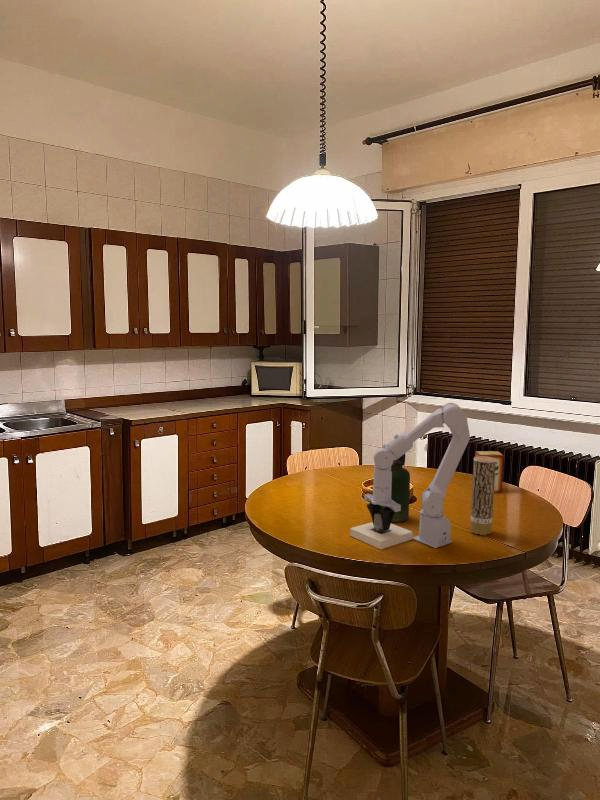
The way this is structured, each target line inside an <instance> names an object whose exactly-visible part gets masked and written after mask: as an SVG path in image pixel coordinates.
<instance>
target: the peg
mask: <svg viewBox="0 0 600 800" xmlns="http://www.w3.org/2000/svg"><path fill="white" fill-rule="evenodd" d="M374 531H375V532H377V533H379V534H383V533H386V531H387V530H383V519H382V514H381V511H377V512H374Z"/></svg>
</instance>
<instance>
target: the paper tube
mask: <svg viewBox="0 0 600 800" xmlns="http://www.w3.org/2000/svg"><path fill="white" fill-rule="evenodd" d="M495 464H496V459H495V458H493V457H488V456H476V457H475V456H474V457H473V467H472V468H473V469H472V486H471V489H472V490H471V506H470V507H471V509H470V526H469V527H470V528H469V529H470V532H471V533H472V532H473V533H472V534H474V533H475V534H474V535H477V534H480V535H479V536H488V535H487V534H489V535H491V534H492V531H493V518H494V517H493V515H494V499H495V495H494V494H495V493H494V482H495ZM490 533H491V534H490Z"/></svg>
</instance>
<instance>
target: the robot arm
mask: <svg viewBox="0 0 600 800" xmlns="http://www.w3.org/2000/svg"><path fill="white" fill-rule="evenodd" d="M468 423H469V422H468V418H467V416H466V415H465V412H464V411H463V410H462V409H461V407H460V406H459V405H458V404H456V403H455V402H448V403H445V404H444V405H442V407H439V408H437V409H436V410H434V411H433V412H431V413H430V414H429V415H428V416H427V417H425V419H423V420H421V422H419V423H418V424H417V425H416V426H415V427H414V428H412V429H411V430H410V431H408V432H407V433H402V432H401V433H399V434H398V433H396V434H395V435H393V439H391V440H390V441H389V442H388V443H386V444H385V443H384V444H383V445H382V446H381V447H380V448H378V449H377V450H376V451H375V453H374V455H373V461H374V462H373V463H374V467H373V470H374V471H373V479H372V481H373V482H372V483H373V485H372V486H373V488H372V490H373V491H372V494H370V493H366V494H364V495H363V496H364V497H363V501H365V502H369V503H367V504H366V508H367V509H368V511H369V513H370V517H371V520H372V521H371V522H373V525H374V512H377V511H381V514H382V519H383V530H388V529H389V528H390V524H392V522H391V521H392V519H393V517H394V515H395V513H396V512H398V511H401V505H400V504H397V503H396V502H394V501H393V500H392V499H391V486H392V472H391V466H392V464H393V460H397V459H398V458H399V457H401V456H402V455H404V454H405V455H406V453H407V452H409V451H410V450H412V449H413V448H414V447H413V446H414V442H416V441H417V440H419V439H420V438H421V437H423V436H424V435H426V434H427V433H428V432H431V430H433V429H435V428H438V429H439V428H445V426H444V425H446V427H447V428H449V431H450V432H451V433H450V434H451V435H452V438H451V440H450V442H449V444H448V447H447V448H446V451H445V453H444V455H443V457H442V459H441V462H440V464H439V466H438V468H437V470H436V473H435V475H434V477H433V480H432V481H431V482H430V483H429V485H428V487H427V488H426V489H425V490H424V491H423V492H422V493H421V496H420V501H421V504H422V508H421V509H420V510H419V524H418V525H419V526H418V527H419V528H418V535H416V536H412V540H415V541H417V542H418V543H422V544H424V545H427V546H430V547H432V548H434V549H437V548H439V547H444V546H446V545H448V544H451V543H453V541H452V540H451V533H452V523H451V520H450V519H449V518H448V517H446V516H445V515H444V501H445V499H446V495H447V490H448V488H449V485H450V483H451V480H452V479H453V476H454V474H455V471H456V470H457V468H458V466H459V463H460V461H461V459H462V456H463V454H464V453H465V450H466V448H467V446H468V443H469V441H470V439H471V434H470V429H469V424H468ZM383 506H384V507H385V508H384V509H382V507H383Z"/></svg>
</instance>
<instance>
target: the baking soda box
mask: <svg viewBox="0 0 600 800" xmlns="http://www.w3.org/2000/svg"><path fill="white" fill-rule="evenodd" d="M476 456H488V457H493V458H495V459H496V464H495V482H494V494H502V493H503V492H502V491H503V490H502V489H503V476H504V459H505V458H504V457H505V455H504V454H503V453H501V452H500V451H496V450H495V451H493V450H491V451H490V450H488V451H487V450H486V451H483V450H482V451H481V450H480V451H477V450H475V455H474V457H476Z"/></svg>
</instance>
